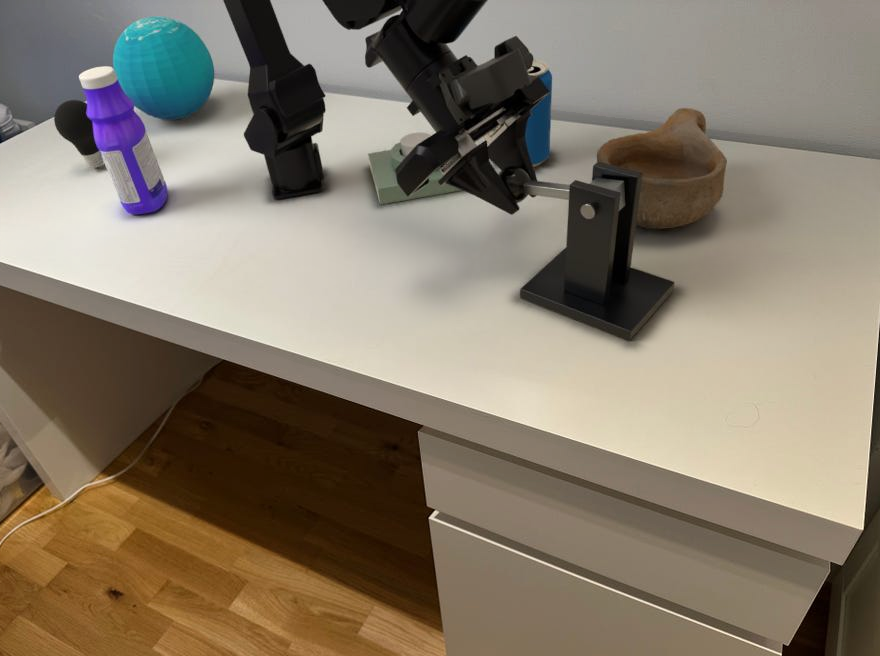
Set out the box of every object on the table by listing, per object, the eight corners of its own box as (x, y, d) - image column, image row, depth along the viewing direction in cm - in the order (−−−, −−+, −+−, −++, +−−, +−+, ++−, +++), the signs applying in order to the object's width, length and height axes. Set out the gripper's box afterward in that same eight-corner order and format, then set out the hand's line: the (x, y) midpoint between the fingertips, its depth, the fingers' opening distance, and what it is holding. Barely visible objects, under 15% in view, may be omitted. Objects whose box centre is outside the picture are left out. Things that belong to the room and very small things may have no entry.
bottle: (133, 193, 96) (79, 64, 84) (174, 187, 96) (126, 58, 84) (121, 220, 91) (62, 87, 79) (164, 215, 91) (111, 80, 79)
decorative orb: (243, 100, 117) (217, 3, 107) (190, 139, 107) (156, 37, 97) (171, 94, 122) (140, 2, 112) (114, 132, 113) (75, 34, 103)
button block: (380, 204, 87) (375, 175, 84) (370, 168, 95) (365, 140, 92) (474, 188, 88) (472, 158, 85) (457, 153, 95) (455, 125, 93)
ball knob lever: (490, 207, 70) (484, 174, 68) (510, 192, 72) (505, 158, 70) (610, 226, 62) (607, 188, 60) (629, 207, 64) (628, 170, 61)
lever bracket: (519, 298, 71) (519, 183, 62) (566, 255, 75) (573, 142, 67) (629, 341, 64) (646, 220, 56) (673, 291, 69) (695, 172, 60)
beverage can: (547, 171, 89) (550, 77, 81) (497, 171, 90) (494, 78, 82) (550, 148, 94) (554, 56, 86) (502, 148, 95) (501, 57, 87)
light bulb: (68, 175, 102) (37, 109, 96) (96, 157, 106) (67, 92, 99) (99, 179, 100) (69, 112, 94) (126, 160, 104) (99, 94, 97)
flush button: (404, 162, 87) (403, 148, 86) (399, 148, 90) (398, 135, 89) (436, 156, 87) (434, 143, 86) (430, 142, 90) (428, 130, 89)
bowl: (597, 152, 89) (628, 76, 81) (705, 190, 87) (746, 116, 79) (567, 224, 77) (600, 143, 69) (691, 270, 75) (738, 192, 68)
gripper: (403, 52, 56) (521, 210, 57) (533, -14, 65) (631, 122, 67) (350, 128, 65) (452, 262, 67) (470, 60, 75) (557, 178, 76)
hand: (526, 203), depth 69 cm, fingers closed on ball knob lever, 3 cm apart
